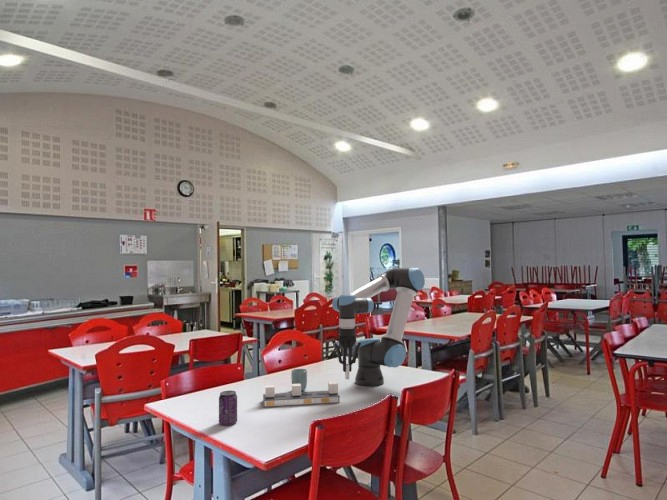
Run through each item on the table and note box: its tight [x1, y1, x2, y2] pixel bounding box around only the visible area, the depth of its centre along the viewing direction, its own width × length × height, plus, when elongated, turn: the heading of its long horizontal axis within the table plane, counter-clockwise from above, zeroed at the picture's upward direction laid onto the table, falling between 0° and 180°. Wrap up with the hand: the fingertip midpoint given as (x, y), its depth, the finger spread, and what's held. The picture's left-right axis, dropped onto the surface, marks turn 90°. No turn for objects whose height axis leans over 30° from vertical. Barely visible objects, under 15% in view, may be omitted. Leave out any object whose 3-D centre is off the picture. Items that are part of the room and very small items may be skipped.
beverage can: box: [218, 390, 238, 426], centre depth 177 cm, size 7×7×12 cm
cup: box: [290, 368, 308, 392], centre depth 224 cm, size 8×8×10 cm
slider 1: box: [264, 384, 276, 397], centre depth 203 cm, size 4×4×4 cm
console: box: [262, 390, 340, 408], centre depth 205 cm, size 34×10×3 cm, turn 100°
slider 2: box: [291, 383, 302, 396], centre depth 205 cm, size 4×4×4 cm
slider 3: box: [327, 381, 339, 394], centre depth 208 cm, size 4×4×4 cm
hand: (347, 378), depth 209 cm, fingers closed
